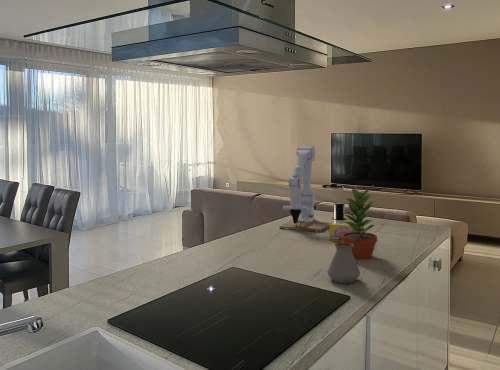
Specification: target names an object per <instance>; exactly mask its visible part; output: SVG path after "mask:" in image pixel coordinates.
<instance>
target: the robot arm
mask: <svg viewBox="0 0 500 370" xmlns="http://www.w3.org/2000/svg"><path fill="white" fill-rule="evenodd" d="M296 157H297V163H296V166H295V167H293V171H292V174H291V177H289V179H288V187H289V191H290V193H289V194H290V195H289V198H290V203H289V204H290V205H283V206H282V210H283V211H284V210H287V211H289V213H290V215H291V217H292V220H293V221H294V223H297V222H298V220H302V219H304V218H308V215H310V214H311V215H314V217H313V220H314V221H316V218H315V208H314V206H315V204H316V201H317V200H316V193H315V191H313V190H312V189H311V187H312V165H313V162H314V161H315V160H316V159H315V158H316V149H315V146H297V148H296ZM301 188H302V189H301ZM299 218H300V219H299Z"/></svg>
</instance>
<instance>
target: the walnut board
mask: <svg viewBox="0 0 500 370" xmlns="http://www.w3.org/2000/svg"><path fill="white" fill-rule="evenodd" d="M298 221H300V219H298ZM329 224H333V222H326V221H324V222H323V221H316V220H314V221H313V223H312V224H310V225H308V226H306V227H297V223H294V221H293V219H291V220H289V221H287V222H285V223H283V224H281V225H279V226H278V227H280V228H288V229H287V230H289V229H297V230H296V231H300V230H308V231H307V232H311V231H317V232H316V233H322V231H323V232H324V231H326V230H327V229H329V228H328V227H329ZM325 229H326V230H325Z"/></svg>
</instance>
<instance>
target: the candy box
mask: <svg viewBox="0 0 500 370" xmlns="http://www.w3.org/2000/svg"><path fill="white" fill-rule="evenodd" d="M364 227H365V226H364ZM364 227H362V228H364ZM364 229H365V228H364ZM328 230H329V231H328V233H329V234H328V235H329V236H328V241H330V242H333V241H334V242H343V240H342V234H344V233H348V232H356V231H354V230H353V229H352V227H351V226H350V225H349V224H347V223H332V224H329V228H328Z"/></svg>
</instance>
